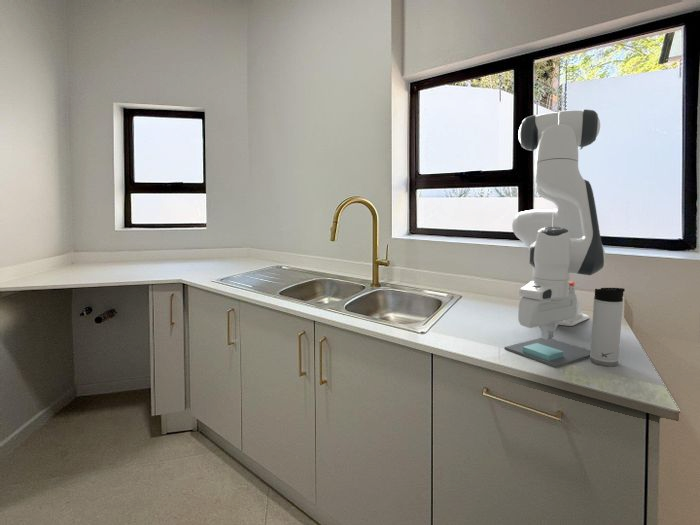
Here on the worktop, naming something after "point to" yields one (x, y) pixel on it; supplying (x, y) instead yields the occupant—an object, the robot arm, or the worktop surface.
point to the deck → (543, 351)
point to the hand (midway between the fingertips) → (547, 338)
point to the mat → (569, 354)
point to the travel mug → (606, 326)
